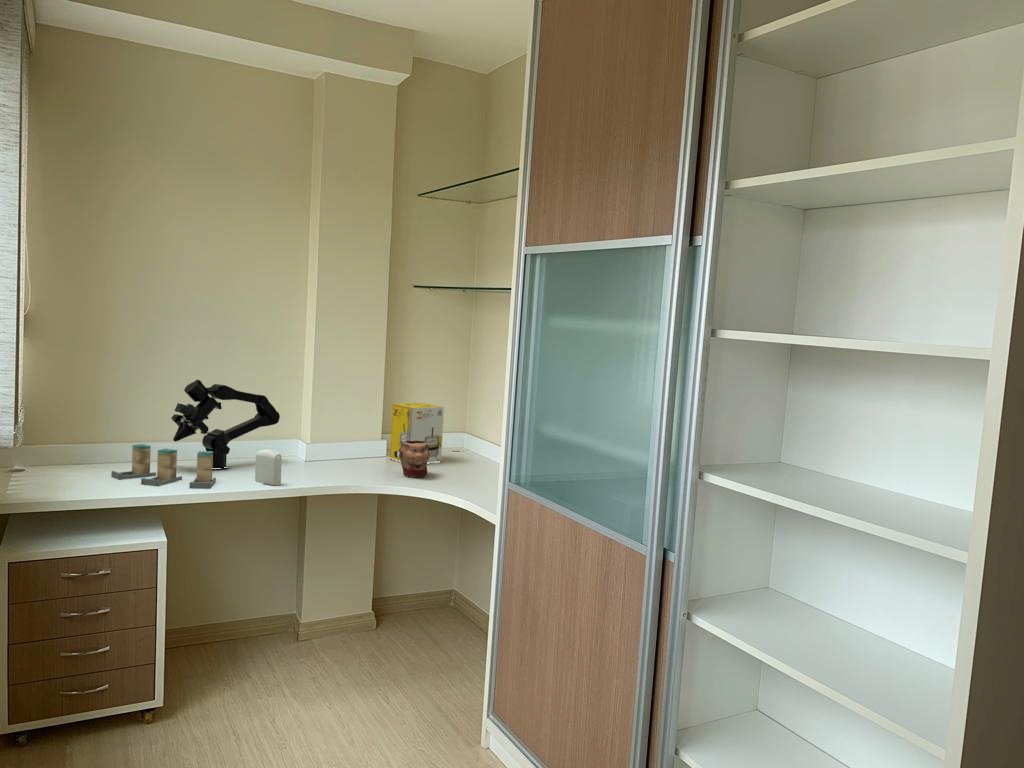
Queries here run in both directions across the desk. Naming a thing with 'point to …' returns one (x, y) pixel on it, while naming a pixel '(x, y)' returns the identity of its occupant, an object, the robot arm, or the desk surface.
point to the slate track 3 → (202, 484)
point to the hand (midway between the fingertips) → (174, 440)
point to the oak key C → (204, 466)
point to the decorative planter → (414, 458)
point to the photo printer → (268, 467)
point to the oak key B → (166, 464)
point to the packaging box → (417, 427)
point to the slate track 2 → (158, 481)
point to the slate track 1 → (130, 475)
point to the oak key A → (141, 459)
